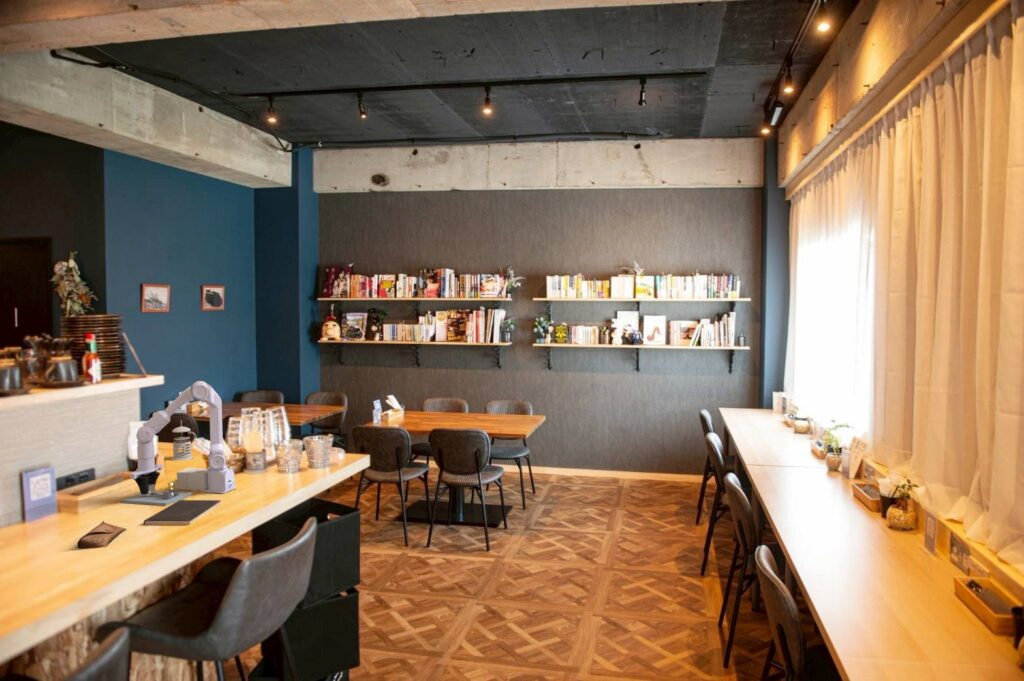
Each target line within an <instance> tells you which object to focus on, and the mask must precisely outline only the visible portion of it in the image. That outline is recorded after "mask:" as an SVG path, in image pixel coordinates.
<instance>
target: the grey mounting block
mask: <svg viewBox="0 0 1024 681" xmlns="http://www.w3.org/2000/svg"><path fill="white" fill-rule="evenodd" d="M162 491H163V499H167V500H169V499H171V493H175V495H174V497H176V496H179V492H180V490H179V488H177V487H175V488H174V489H173V490H168V489H166V490H162Z"/></svg>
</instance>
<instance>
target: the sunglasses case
mask: <svg viewBox="0 0 1024 681" xmlns="http://www.w3.org/2000/svg"><path fill="white" fill-rule="evenodd" d="M125 531H127V528H124V527H122V526H117V525H115V524H111V523H108V522H105V521H104V520H103V521H101V523H99V524H98V525H96V526H95V527H93V528H92V529H91V530H90V531H88V532H87V533H86V534H84V535H83V536H81V537H80V538H79V539H78V542H77V543H76V544H77V545H76V546H77V548H78V549H79V550H87V549H88V550H89V549H99V548H107V547H108V546H109V544H111V543H112V542H113V541H114V540H115V539H116V538H118V536H119V535H120V534H122V533H124V532H125Z"/></svg>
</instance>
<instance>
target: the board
mask: <svg viewBox="0 0 1024 681" xmlns="http://www.w3.org/2000/svg"><path fill="white" fill-rule="evenodd" d="M163 491H164V490H156V489H155V492H163ZM192 494H193V493H192V492H184V491H183V492H181V491H179V496H176V497H174V496H173V497H172V496H171V499H169V500H167V499H163V496H158V495H152V496H149V497H148V496H140V492H138V493H135V494H133V495H129V496H127V497H125V498H122V499H119V503H120V504H121V503H123V504H133V505H150V506H162V507H163V506H165V507H166V506H167V507H168V505H169V506H170V505H172V504H174V503H176V502H177V501H179V500H185V499H187V498H189V497H191V496H192Z"/></svg>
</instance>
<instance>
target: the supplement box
mask: <svg viewBox="0 0 1024 681" xmlns="http://www.w3.org/2000/svg"><path fill="white" fill-rule="evenodd" d="M176 479H178V486H177V487H176V488H179V491H196V492H197V491H199V492H203V491H204V490H206V489H208V470H207V468H202V467H201V468H200V467H187V468H184V469H182V470H179V471H177V472H176Z"/></svg>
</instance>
